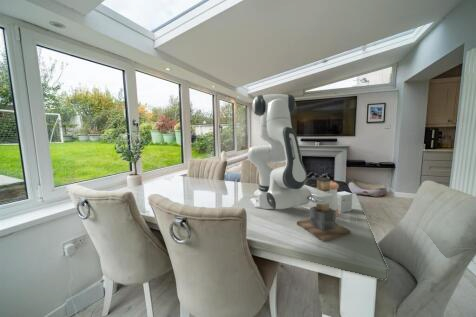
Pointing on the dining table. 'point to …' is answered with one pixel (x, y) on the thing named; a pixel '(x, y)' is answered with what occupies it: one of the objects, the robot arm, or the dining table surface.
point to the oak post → (324, 185)
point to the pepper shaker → (334, 196)
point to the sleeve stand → (323, 225)
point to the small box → (344, 201)
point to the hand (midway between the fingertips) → (324, 190)
